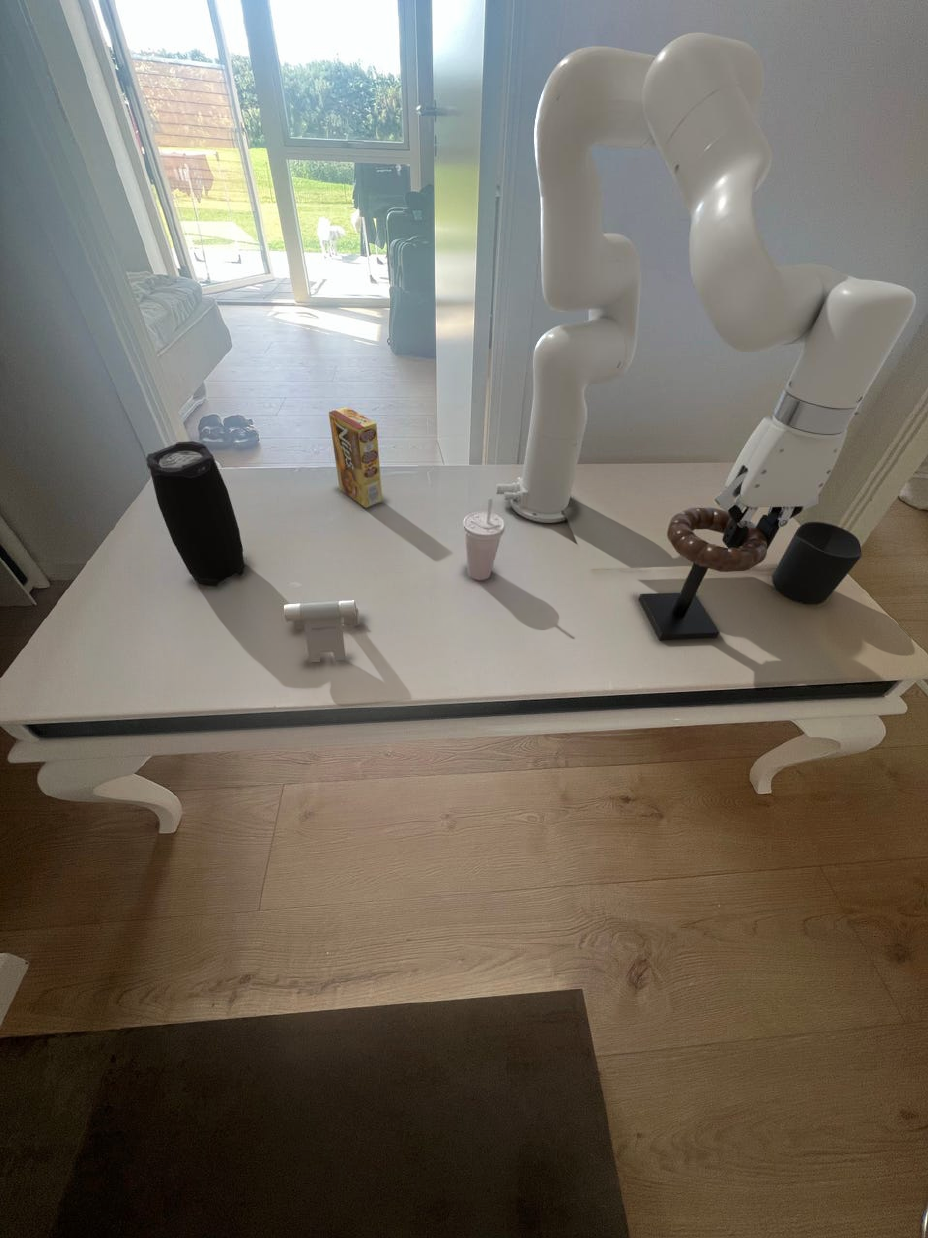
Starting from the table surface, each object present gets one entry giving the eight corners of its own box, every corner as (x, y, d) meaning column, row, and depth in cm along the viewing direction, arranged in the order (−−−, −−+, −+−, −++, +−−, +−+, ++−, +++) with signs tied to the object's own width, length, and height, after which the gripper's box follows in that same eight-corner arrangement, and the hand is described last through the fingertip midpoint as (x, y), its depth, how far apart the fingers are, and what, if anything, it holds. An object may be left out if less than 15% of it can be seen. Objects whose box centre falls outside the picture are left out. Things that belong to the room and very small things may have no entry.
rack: (659, 640, 76) (688, 575, 68) (638, 599, 83) (662, 535, 74) (716, 638, 77) (753, 574, 69) (691, 597, 84) (722, 534, 75)
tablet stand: (359, 618, 76) (354, 574, 70) (360, 659, 70) (354, 614, 65) (297, 622, 75) (287, 577, 69) (294, 664, 69) (282, 619, 63)
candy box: (383, 501, 99) (378, 422, 88) (365, 509, 96) (357, 429, 86) (355, 482, 103) (347, 405, 92) (337, 490, 101) (327, 411, 90)
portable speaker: (178, 587, 78) (127, 468, 65) (205, 550, 85) (163, 435, 72) (234, 592, 78) (195, 474, 65) (257, 555, 85) (225, 440, 71)
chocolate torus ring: (687, 577, 65) (695, 558, 63) (651, 522, 74) (658, 504, 72) (779, 575, 67) (790, 556, 65) (733, 520, 76) (741, 502, 73)
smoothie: (495, 588, 82) (505, 512, 73) (455, 581, 83) (460, 505, 73) (501, 564, 87) (511, 489, 77) (463, 557, 88) (469, 483, 78)
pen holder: (841, 599, 85) (879, 550, 78) (800, 613, 82) (835, 563, 75) (796, 565, 91) (826, 517, 84) (756, 576, 88) (784, 527, 81)
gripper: (858, 400, 62) (784, 529, 75) (727, 398, 60) (674, 531, 73) (902, 427, 56) (815, 562, 69) (761, 426, 55) (697, 565, 67)
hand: (743, 545), depth 71 cm, fingers closed on chocolate torus ring, 3 cm apart
